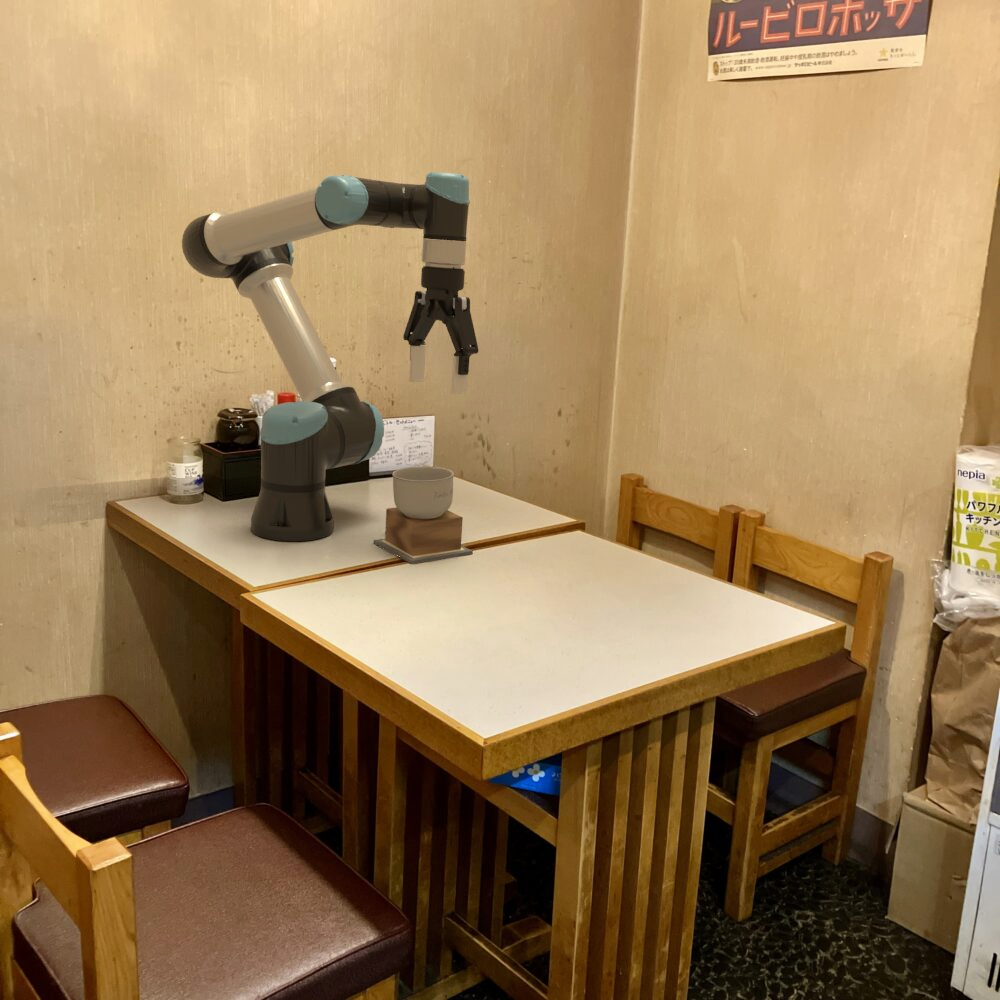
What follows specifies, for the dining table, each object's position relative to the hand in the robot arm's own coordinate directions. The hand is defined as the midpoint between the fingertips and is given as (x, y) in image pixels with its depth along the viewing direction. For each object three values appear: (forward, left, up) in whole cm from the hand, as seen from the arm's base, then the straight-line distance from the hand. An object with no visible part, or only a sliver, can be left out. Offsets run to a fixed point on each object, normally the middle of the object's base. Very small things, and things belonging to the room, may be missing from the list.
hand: (437, 387), depth 179 cm
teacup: (+4, -4, -22) cm, 23 cm away
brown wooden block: (+4, -4, -28) cm, 29 cm away
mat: (+4, -4, -29) cm, 29 cm away
